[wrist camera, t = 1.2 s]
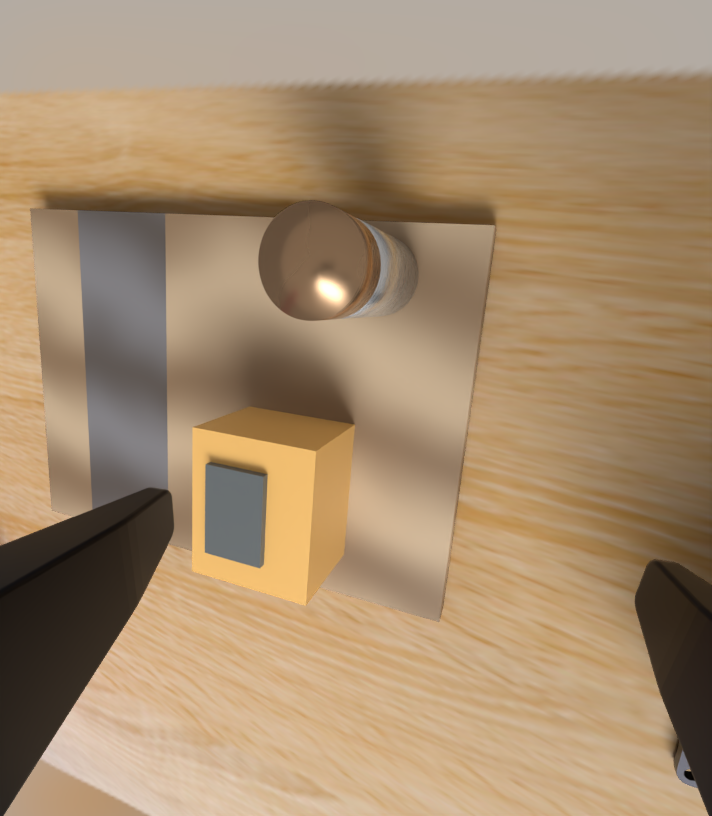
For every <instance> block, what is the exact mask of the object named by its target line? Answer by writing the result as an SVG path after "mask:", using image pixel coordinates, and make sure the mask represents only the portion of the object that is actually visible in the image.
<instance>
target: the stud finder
mask: <svg viewBox="0 0 712 816" xmlns="http://www.w3.org/2000/svg"><path fill="white" fill-rule="evenodd" d="M354 430H355V425H354V424H348V423H343V422H337V421H331V420H325V419H319V418H314V417H308V416H302V415H296V414H290V413H285V412H279V411H273V410H267V409H261V408H256V407H247V408H244V409H242V410H239V411H236V412H233V413H230V414H228V415H225V416H222V417H219V418H217V419H214V420H211V421H208V422H206V423H203V424H200V425H197V426H194V427H192V571H193V572H196V573H199V574H203V575H206V576H209V577H213V578H216V579H219V580H223V581H226V582H229V583H232V584H236V585H239V586H242V587H246V588H249V589H252V590H256V591H259V592H262V593H265V594H269V595H272V596H275V597H279V598H282V599H285V600H289V601H292V602H295V603H298V604H302V605H305V606H306V605H307V604H308V602H309V601H310V600H311V598H312V597H313V596H314V594H315V593H316V592H317V590H318V589H319V587H320V586H321V585H322V583H323V582H324V581H325V579H326V578H327V577H328V575H329V574H330V573H331V571H332V570H333V569H334V567H335V566H336V564H337V563H338V562H339V560H340V559H341V558H342V556H343V555H344V549H345V537H346V525H347V514H348V502H349V490H350V478H351V466H352V454H353V442H354Z"/></svg>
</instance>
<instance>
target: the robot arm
mask: <svg viewBox="0 0 712 816" xmlns="http://www.w3.org/2000/svg"><path fill="white" fill-rule="evenodd" d="M173 532H174V513H173V501H172V495H171V492H170V491H169V490H167V489H160V488H153V487H148V488H145V489H143V490H140V491H138V492H135V493H133V494H130V495H128V496H125V497H123V498H120V499H118V500H115V501H112V502H110V503H107V504H105V505H102V506H100V507H97V508H95V509H92V510H90V511H87V512H85V513H82V514H80V515H77V516H75V517H72V518H69V519H67V520H64V521H62V522H59V523H57V524H54V525H52V526H49V527H47V528H44V529H42V530H39V531H37V532H34V533H31V534H29V535H26V536H24V537H21V538H19V539H16V540H14V541H11V542H9V543H6V544H4V545H1V546H0V816H4V814H5V812H6V811H7V809H8V808H9V806H10V805H11V803H12V802H13V800H14V799H15V797H16V795H17V794H18V792H19V791H20V789H21V787H22V786H23V784H24V783H25V781H26V780H27V778H28V776H29V775H30V773H31V772H32V770H33V769H34V767H35V766H36V764H37V762H38V761H39V759H40V758H41V756H42V755H43V753H44V751H45V750H46V748H47V747H48V745H49V744H50V742H51V741H52V739H53V737H54V736H55V734H56V733H57V731H58V730H59V728H60V726H61V725H62V723H63V722H64V720H65V719H66V717H67V715H68V714H69V712H70V711H71V709H72V708H73V706H74V704H75V703H76V701H77V700H78V698H79V697H80V695H81V693H82V692H83V690H84V689H85V687H86V686H87V684H88V683H89V681H90V679H91V678H92V676H93V675H94V673H95V672H96V670H97V668H98V667H99V665H100V664H101V662H102V661H103V659H104V657H105V656H106V654H107V653H108V651H109V650H110V648H111V646H112V645H113V643H114V642H115V640H116V639H117V637H118V635H119V634H120V632H121V631H122V629H123V628H124V626H125V625H126V623H127V621H128V620H129V618H130V617H131V615H132V613H133V612H134V610H135V608H136V607H137V605H138V603H139V601H140V600H141V598H142V596H143V594H144V592H145V590H146V588H147V586H148V584H149V582H150V580H151V578H152V576H153V574H154V572H155V570H156V568H157V566H158V564H159V562H160V560H161V558H162V556H163V554H164V552H165V550H166V548H167V546H168V544H169V542H170V540H171V538H172V535H173ZM635 607H636V611H637V615H638V618H639V622H640V625H641V629H642V632H643V636H644V639H645V643H646V647H647V650H648V654H649V657H650V661H651V664H652V668H653V671H654V675H655V678H656V681H657V684H658V688H659V691H660V693H661V696H662V699H663V702H664V704H665V707H666V709H667V712H668V714H669V717H670V719H671V722H672V724H673V727H674V729H675V732H676V734H677V737H678V739H679V745H678V749H677V752H676V755H675V759H674V768H675V771H676V774H677V776H678V778H679V779H680V780H681V781H682V782H683V783H685V784H687V785H690V786H693V787H696V788H698V790H699V792H700V795H701V797H702V800H703V802H704V805H705V807H706V810H707V812H708V815H709V816H712V585H710V584H709V583H707V582H706V581H704V580H703V579H701V578H700V577H698V576H697V575H695V574H694V573H692V572H691V571H689V570H688V569H686V568H685V567H683V566H682V565H680V564H678V563H676V562H670V561H663V560H656V559H654V560H651V561H650V562H649V563H648V564H647V566H646V569H645V571H644V574H643V576H642V579H641V582H640V584H639V587H638V589H637V592H636V595H635ZM687 769H690V770H691V772H690V771H686V770H687Z"/></svg>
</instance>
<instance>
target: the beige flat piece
mask: <svg viewBox="0 0 712 816" xmlns="http://www.w3.org/2000/svg"><path fill="white" fill-rule="evenodd" d="M30 211H31V225H32V239H33V253H34V267H35V281H36V295H37V309H38V323H39V337H40V351H41V365H42V380H43V394H44V408H45V422H46V436H47V450H48V464H49V478H50V492H51V506H52V511H55V512H58V513H62V514H65V515H69V516H72V517H75V516H77V515H80V514H82V513H85V512H87V511H90V510H92V509H95V508H97V507H100V506H102V505H105V504H107V503H110V502H112V501H115V500H118V499H120V498H123V497H125V496H128V495H130V494H133V493H135V492H138V491H140V490H143V489H145V488H148V487H153V488H160V489H167V490H169V491H170V492H171V495H172V501H173V513H174V532H173V535H172V538H171V540H170V542H169V544H170V545H173V546H177V547H180V548H184V549H187V550H190V551H192V427H194V426H197V425H200V424H203V423H206V422H208V421H211V420H214V419H217V418H219V417H222V416H225V415H228V414H230V413H233V412H236V411H239V410H242V409H244V408H247V407H256V408H261V409H267V410H273V411H279V412H285V413H290V414H296V415H302V416H308V417H314V418H319V419H325V420H331V421H337V422H343V423H348V424H354V425H355V430H354V442H353V454H352V466H351V478H350V490H349V502H348V514H347V525H346V537H345V549H344V555H343V556H342V558H341V559H340V560H339V562H338V563H337V564H336V566H335V567H334V569H333V570H332V571H331V573H330V574H329V575H328V577H327V578H326V579H325V581H324V582H323V583H322V585H321V586H320V587H319V588H323V589H326V590H330V591H333V592H336V593H340V594H343V595H347V596H350V597H354V598H357V599H361V600H364V601H368V602H371V603H375V604H378V605H382V606H385V607H389V608H392V609H396V610H399V611H403V612H406V613H409V614H413V615H416V616H420V617H423V618H427V619H430V620H434V621H437V622H439V620H440V617H441V613H442V610H443V604H444V597H445V590H446V583H447V576H448V568H449V561H450V554H451V547H452V540H453V533H454V526H455V519H456V512H457V505H458V498H459V491H460V484H461V476H462V469H463V462H464V455H465V448H466V441H467V434H468V427H469V420H470V413H471V406H472V399H473V392H474V384H475V377H476V370H477V363H478V356H479V349H480V342H481V335H482V328H483V321H484V314H485V307H486V300H487V292H488V285H489V278H490V271H491V264H492V257H493V250H494V243H495V236H496V227H495V225H472V224H445V223H417V222H389V221H364V222H366V223H368V224H369V225H371V226H373V227H375V228H377V229H379V230H381V231H383V232H385V233H387V234H389V235H391V236H393V237H395V238H396V239H398V240H400V241H402V242H403V243H404V244H405V245H407V247H408V248H409V249H410V250H411V252H412V253H413V255H414V257H415V259H416V262H417V266H418V283H417V287H416V290H415V292H414V295H413V296H412V298H411V300H410V301H409V302H408V303H407V304H406V305H405V306H404V307H403V308H402V309H401V310H399V311H397V312H396V313H393V314H391V315H387V316H378V317H363V318H348V319H334V320H319V321H305V320H299V319H296V318H293V317H291V316H289V315H287V314H285V313H284V312H282V311H281V310H280V309H279V308H278V307H277V306H276V305H275V304H274V303H273V302H272V301H271V300H270V298H269V297H268V295H267V293H266V291H265V289H264V287H263V285H262V282H261V278H260V274H259V267H258V256H259V248H260V244H261V241H262V237H263V235H264V233H265V231H266V229H267V227H268V226H269V224H270V223H271V221H272V220H273V219H274V217H251V216H223V215H196V214H168V213H140V212H113V211H85V210H57V209H30Z"/></svg>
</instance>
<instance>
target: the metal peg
mask: <svg viewBox="0 0 712 816" xmlns="http://www.w3.org/2000/svg"><path fill="white" fill-rule="evenodd" d="M258 267H259V274H260V278H261V282H262V285H263V287H264V289H265V291H266V293H267V295H268V297H269V298H270V300H271V301H272V302H273V303H274V304H275V305H276V306H277V307H278V308H279V309H280V310H281V311H282V312H284V313H285V314H287V315H289V316H291V317H293V318H296V319H299V320H305V321H319V320H334V319H348V318H363V317H378V316H387V315H391V314H393V313H396V312H397V311H399V310H401V309H402V308H403V307H404V306H405V305H406V304H407V303H408V302H409V301H410V300H411V298H412V296H413V295H414V292H415V290H416V287H417V283H418V266H417V262H416V259H415V257H414V255H413V253H412V252H411V250H410V249H409V248H408V247H407V245H405V244H404V243H403V242H402V241H400V240H398V239H396V238H395V237H393V236H391V235H389V234H387V233H385V232H383V231H381V230H379V229H377V228H375V227H373V226H371V225H369V224H368V223H366V222H364V221H362V220H360V219H358V218H356V217H354V216H352V215H350V214H348V213H346V212H344V211H342V210H341V209H339V208H337V207H335V206H333V205H330V204H328V203H325V202H321V201H314V200H311V201H302V202H298V203H295V204H292V205H290V206H289V207H287V208H285V209H284V210H282V211H281V212H280V213H279V214H278V215H277V216H276V217H274V219H273V220H272V221H271V223H270V224H269V226H268V227H267V229H266V231H265V233H264V235H263V237H262V241H261V244H260V248H259V256H258Z"/></svg>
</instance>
